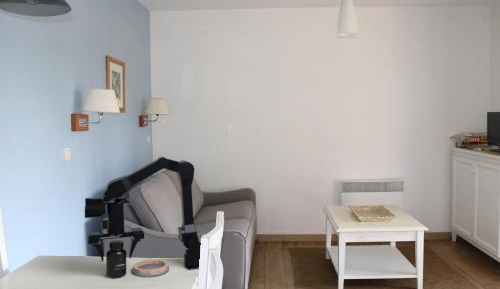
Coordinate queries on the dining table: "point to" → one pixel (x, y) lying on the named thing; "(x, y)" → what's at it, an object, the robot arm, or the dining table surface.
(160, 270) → the bottle holder
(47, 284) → the dining table surface
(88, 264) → the dining table surface
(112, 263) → the supplement bottle
